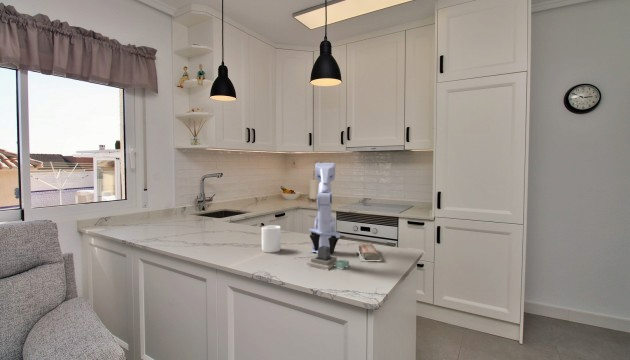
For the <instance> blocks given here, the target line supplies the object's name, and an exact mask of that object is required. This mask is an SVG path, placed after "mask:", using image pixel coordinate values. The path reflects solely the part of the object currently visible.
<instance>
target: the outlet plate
mask: <svg viewBox="0 0 630 360" xmlns="http://www.w3.org/2000/svg"><path fill="white" fill-rule="evenodd" d="M339 260H342V258H337V256H333V255H331V259H330V260H328V261H324V260H319V259H318V255H316V256H314V257H312V258H311V260H310V261H308V262H307V264H306V266H307V265H310V266H309V267H312V266H314V267H313V268H316V267H319V268H318V269H320V268H323V269H322V270H325V269H329V268H330V269H332V268H334V267H335V266H334V265H335V262H337V261H339ZM333 266H334V267H333ZM331 267H332V268H331ZM330 269H329V270H330Z"/></svg>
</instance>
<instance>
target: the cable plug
mask: <svg viewBox="0 0 630 360" xmlns="http://www.w3.org/2000/svg"><path fill="white" fill-rule="evenodd" d="M348 265H349V266H350V260H346V259H342V258H341V260H339V261H337V262H335V266H334V268H336V267H339V268H344V267H346V266H348ZM339 268H338V269H339ZM346 268H347V267H346ZM344 269H345V268H344Z"/></svg>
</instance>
